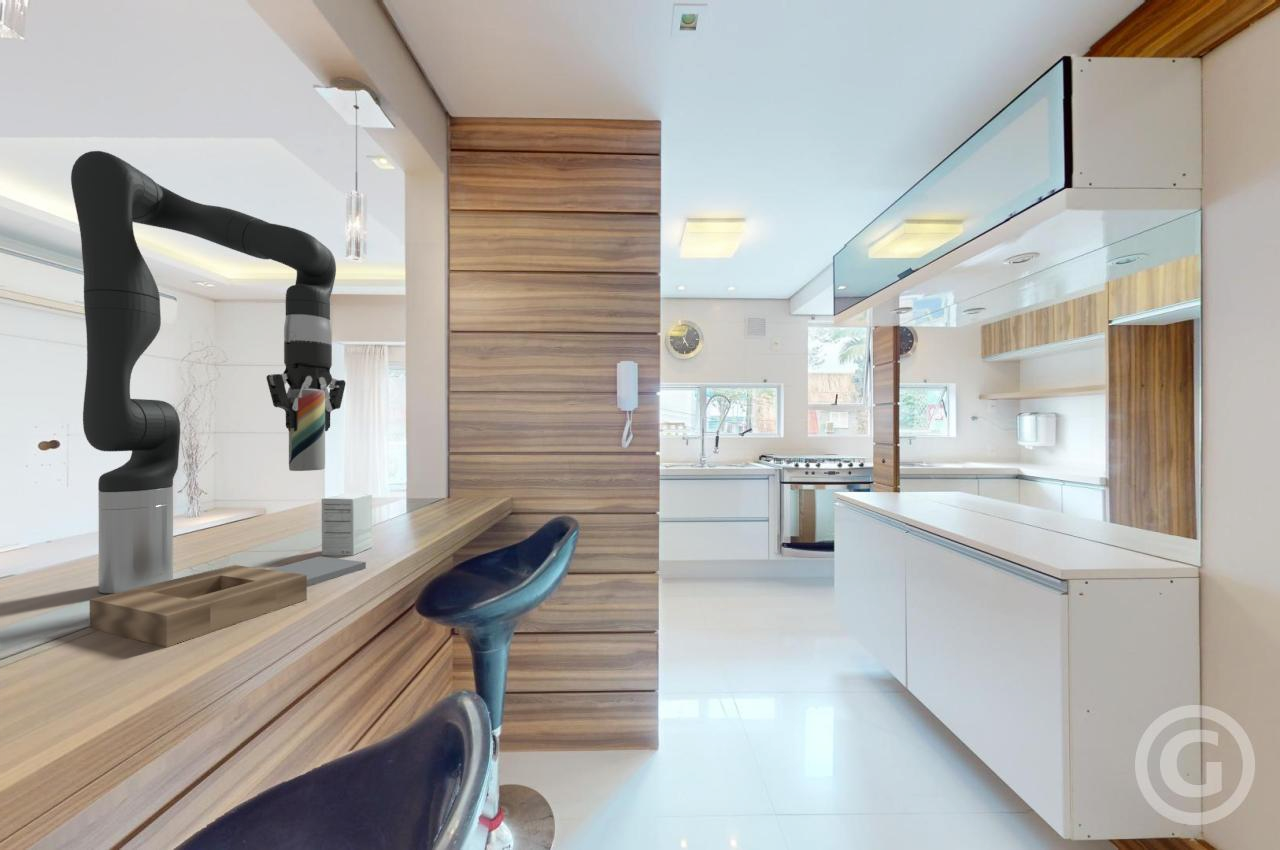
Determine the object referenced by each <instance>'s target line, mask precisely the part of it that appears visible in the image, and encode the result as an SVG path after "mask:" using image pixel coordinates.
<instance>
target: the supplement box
mask: <svg viewBox="0 0 1280 850" xmlns="http://www.w3.org/2000/svg"><path fill="white" fill-rule="evenodd" d="M371 548H373V494H372V493H341V494H337V495H332V496H328V497H323V498H321V555H322V554H323V555H322V556H342V555H351V556H356V554H359V553H361V552H364V551H367V550H370V549H371Z"/></svg>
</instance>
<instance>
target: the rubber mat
mask: <svg viewBox="0 0 1280 850" xmlns="http://www.w3.org/2000/svg"><path fill="white" fill-rule="evenodd" d="M366 562H367V561H361V560H360V561H359V560H353V559H344V558H336V557H335V558H334V557H327V556H326V557H325V556H316V557H312V558H308V559H304V560H301V561H296V562H293V563H289V564H286V565H282V566H278V567H274V568H270V569H268V570H274V571H281V572H288V573H295V574H302V575H307V587H309V586H313V584H314V585H316V583H317V584H319V582H320V583H322V581H323V582H326V581H329V580H333V579H335V577H336V578H338V577H342V576H346V575H347V574H348V575H349V574H351V573H354V572H358V571H360V570H361V571H362V570H364V569H366V567H367V565H366V564H367V563H366ZM332 578H333V579H332ZM325 580H326V581H325Z"/></svg>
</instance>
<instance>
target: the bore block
mask: <svg viewBox="0 0 1280 850" xmlns="http://www.w3.org/2000/svg"><path fill="white" fill-rule="evenodd" d="M307 587H308V586H307V575H302V574H295V573H288V572H281V571H274V570H269V569H266V568H260V567H251V566H245V565H239V564H238V565H237V564H233V565H229V566H224V567H220V568H217V569H212V570H211V569H210V570H207V571H204V572H199V573H195V574H191V575H187V576H186V575H185V576H183V577H178V578H173V580H169V581H165V582H161V583H156V584H152V585H148V586H144V587H139V588H135V589H131V590H127V591H123V592H118V593H109V594H105V595H103V596H98V597H94V598H91V599H89V628H90V629H92V630H95V631H101V632H104V633H109V634H112V635H117V636H120V637H125V638H129V639H132V640H137V641H142V642H145V643H149V644H153V645H156V646H160V647H164V648H168V647H172V646H175V645H178V644H180V642H181V643H184V642H186V640H187V641H189V639H190V640H192V638H193V639H196V638H199V637H201V636H204V635H207V634H210V633H212V632H216V631H219V630H222V629H224V628H228V627H230V625H231V626H234V625H236V623H237V624H240V623H242V622H241V621H243V622H245V621H244V620H246V621H248V620H247V619H249V620H251V619H255V618H256V617H261V616H263V615H265V613H266V614H268V612H269V613H271V611H272V612H275V611H277V609H278V610H280V609H279V608H281V609H283V608H282V607H284V608H287V607H289V606H288V605H290V606H292V604H293V605H296V604H298V602H299V603H301V601H302V602H303V600H305V601H306V600H308V599H307V598H308V597H307V594H308V592H307V591H308V589H307ZM295 603H296V604H295ZM286 606H287V607H286ZM274 610H275V611H274ZM239 622H240V623H239ZM233 624H234V625H233ZM227 626H228V627H227ZM183 641H184V642H183ZM177 643H178V644H177Z"/></svg>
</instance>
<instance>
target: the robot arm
mask: <svg viewBox="0 0 1280 850" xmlns="http://www.w3.org/2000/svg"><path fill="white" fill-rule="evenodd" d="M70 173H71V174H70V183H71V190H72V196H73V202H74V205H75V210H76V215H77V221H78V228H79V232H80V233H79V234H80V242H81V243H80V244H81V255H82V257H81V259H82V267H83V304H84V305H83V307H84V309H83V310H84V318H85V330H86V375H85V376H86V377H85V388H84V395H83V397H84V398H83V409H82V425H83V426H82V427H83V433H84V436H85V438H86V440H87V442H88V443H89V445H90V446H91V447H93V448H94V449H95V450H98V451H101V452H131V455H130V458H129V459H128V460H127V461H126V462H125V463H124V464H123V465H120V466H119V467H117V468H115V469H113V470H110V471H107V472H104V473H102V474H101V475H100V476H99V477H98V489H97V490H98V493H97V495H98V593H100V592H101V594H114V593H118V592H123V591H127V590H131V589H135V588H139V587H144V586H148V585H152V584H156V583H161V582H165V581H169V580H172V579H174V478H175V475H176V474H177V470H178V468H179V456H180V455H179V453H180V443H181V422H180V416H179V413H178V411H177V410H176V408H175V407H174V406H173V405H172V404H170V403H168V402H166V401H164V400H158V399H141V398H131V390H130V389H131V379H132V373H133V369H134V366H135V365H136V363H137V361H138V360H139V359H140V358H141V356H142V355H143V354H144V352H146V350H147V349H148V347H150V345H151V344H152V343H153V341H154V340H155V339H156V337H157V335H158V334H159V331H160V330H161V322H162V321H161V319H162V318H161V302H160V301H161V300H160V299H161V298H160V292H159V288H158V285H157V283H156V281H155V278H154V276H153V273H152V272H151V270H150V268H149V265H148V264H147V262H146V261H145V259H144V257H143V255H142V253H141V251H140V249H139V246H138V243H137V241H136V238H135V232H134V226H133V224H134V223H136V224H140V225H146V226H151V227H156V228H161V229H162V228H163V229H168V230H171V231H175V232H176V231H177V232H180V233H184V234H187V235H191V236H194V237H197V238H200V239H204V240H206V241H208V242H212V243H213V244H214V243H215V244H217V245H220V246H222V247H224V248H227V249H230V250H233V251H236V252H240V253H241V254H245V255H247V256H251V257H254V258H256V259H262V260H272V261H273V262H276V263H280V264H282V265H285V266H287V267H289V268H291V269H294V270H295V271H296V279H295V284H293V285H290V286H289V287H288V288H287V289H286V292H285V319H284V326H283V364H284V365H285V369H284V370H283V373H273V374H268V375H266V381H267V386H268V389H269V393H270V397H271V402H272V405H273V406H274V408H279V409H283V410H284V411H285V427H286V429H288V433H289V432H290V428H294V432H295V431H297V417H298V412H297V410H298V399H300V398H302V390H303V389H308V388H309V386H310V385H311V382H312V377H311V376H305V375H304V368H305V367H306V366H315V367H318V368H319V378H318V384H319V388H316V389H318V390H323V391H324V392H325V432H328V431H329V429H330V428H331V412H332V411H334V410H338V409H340V408H341V405H342V402H343V398H344V393H345V389H346V381H345V380H343V379H340V380H339V379H335V378H333V377H332V374H331V372H330V371H331V368H332V366H333V363H332V361H333V353H332V351H333V350H332V349H333V348H332V347H333V343H332V342H333V340H332V337H333V336H332V326H331V302H330V301H331V299H330V298H331V296H332V292H333V289H334V284H335V280H336V274H337V273H336V272H337V265H336V259H335V256H334V255H333V253H332V251H331V250H330V249H329V248H328V246H326V245H325V244H323V243H322V242H321V241H319V240H318V239H317V238H316V237H314V236H313V235H311V234H310V233H308V232H305V231H303V230H300V229H297V228H295V227H291V226H285V225H281V224H277V223H270V222H268V221H265V220H264V219H260V218H257V217H255V216H252V215H249V214H247V213H244V212H241V211H238V210H235V209H231V208H227V207H222V206H219V205H210V204H209V205H208V204H202V203H200V202H197V201H194V200H191V199H188V198H185V197H183V196H182V195H179V194H177V193H175V192H174V191H172V190H170V189H168V188H166V187H164V186H162V185H160V184H158V183H157V182H156V181H155V180H154V179H152V178H151V177H150V176H149V175H148V174H146V173H144V172H143V171H141V170H139V169H138V168H136V167H135V166H133V165H132V164H130V163H128V162H127V161H125V160H124V159H122V158H120V157H118V156H116V155H114V154H112V153H109V152H106V151H102V150H92V151H91V150H90V151H87V152H85V153H83V154H82V155H80V156H79V157H78V158H77V159H76V160H75V162H74V163H73V165H72V169H71V172H70ZM286 384H288V386H289V387H288V390H287V389H286V386H285V385H286ZM328 388H329V390H328ZM291 389H299V391H298V392H297V393H296V394H295V395H293V396H291V395H290V394H289V390H291ZM290 398H294V400H293V402H292V403H290ZM295 411H296V412H295Z"/></svg>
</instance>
